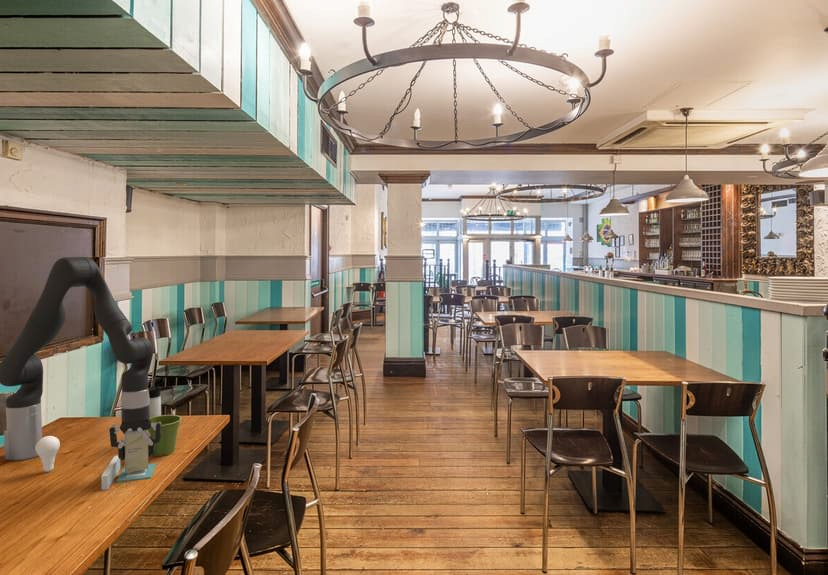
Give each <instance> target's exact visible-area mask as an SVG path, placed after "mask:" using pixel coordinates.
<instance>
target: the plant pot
mask: <svg viewBox="0 0 828 575" xmlns="http://www.w3.org/2000/svg"><path fill="white" fill-rule="evenodd" d="M182 418H183V417H182V416H180V415H177V414H163V415H162V414H161V416H155V417H151V418H150V421H151V423H156V422H159V421H160V422H161V439H160V441H159V443H155V444H154V454H153V455H152V456H153V457H154V456H155V457H162V456H165V455H171V454H173V453H174V452H175V450H176V444H177V439H178V438H177V437H178V430H179V427H180V424H181V423H180V422H181V420H182ZM148 431H149V433H150V434H151V436H152V438H153V439H154V438H155V436H156V430H154V429H153V427H152V426H151V427H150V429H149V430H148Z"/></svg>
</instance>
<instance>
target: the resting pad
mask: <svg viewBox="0 0 828 575" xmlns="http://www.w3.org/2000/svg"><path fill="white" fill-rule="evenodd" d="M157 464H158V463H157V462H154V463H148V469H145V470H140V471H134V472H128V473H126V472H125V466H124V467H123V469H122V470H121V473H120V474H119V476H118V477H117V479H116V483H121V482H129V481H139V480H145V479H146V480H147V479H152V476H153V474H154V472H155V469H156V467H157Z"/></svg>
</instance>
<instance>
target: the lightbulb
mask: <svg viewBox="0 0 828 575" xmlns="http://www.w3.org/2000/svg"><path fill="white" fill-rule="evenodd" d="M60 447H61V442H60V440H59V438H58V437H56V436H53V435H47V436H44V437H43V436H42V438H41V439H40V440H39V441H38V442H37V444H36V447H35V450H36V452H37V454H38V456H39V457H40V461H41V465H42V467H43V471H44V472H46V473H50V472H52V470H54V469H55V468H54V467H55V465H54V464H55V462H56V460H55V459H56V455H57V453H58V452H59V449H60Z"/></svg>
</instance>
